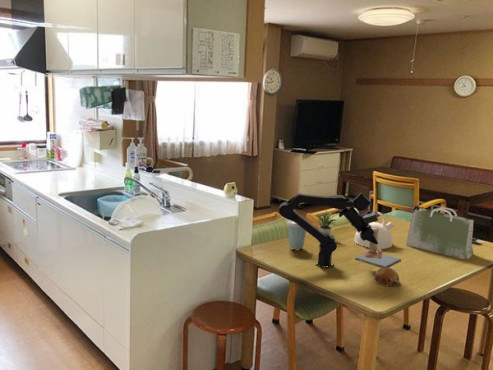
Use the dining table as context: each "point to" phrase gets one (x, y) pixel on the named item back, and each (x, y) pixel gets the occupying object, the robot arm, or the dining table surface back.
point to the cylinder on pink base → (373, 248)
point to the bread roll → (387, 276)
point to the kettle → (383, 234)
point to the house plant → (325, 222)
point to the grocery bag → (441, 233)
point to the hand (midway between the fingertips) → (376, 242)
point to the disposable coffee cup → (296, 235)
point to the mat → (380, 260)
